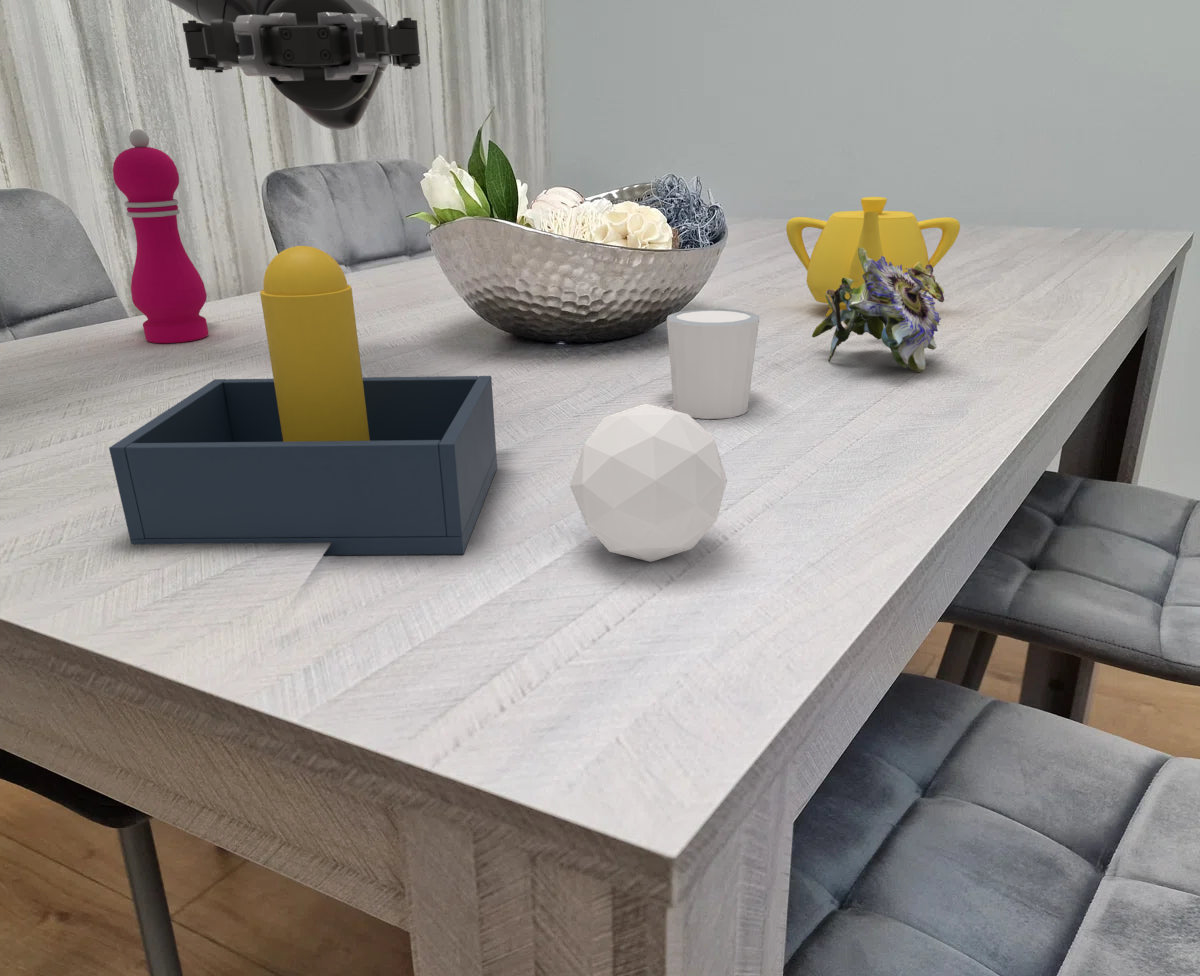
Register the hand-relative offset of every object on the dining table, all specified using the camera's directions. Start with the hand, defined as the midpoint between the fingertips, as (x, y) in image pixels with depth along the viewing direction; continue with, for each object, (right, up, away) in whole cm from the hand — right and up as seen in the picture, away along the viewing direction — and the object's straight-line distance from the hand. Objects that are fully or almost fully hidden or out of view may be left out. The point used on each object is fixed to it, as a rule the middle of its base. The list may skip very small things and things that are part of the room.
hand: (294, 39), depth 61 cm
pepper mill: (-27, -5, +49) cm, 56 cm away
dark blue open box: (+2, -27, +1) cm, 27 cm away
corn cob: (+2, -26, 0) cm, 26 cm away
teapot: (+47, -2, +53) cm, 70 cm away
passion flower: (+42, -12, +31) cm, 53 cm away
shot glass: (+26, -18, +19) cm, 37 cm away
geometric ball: (+20, -30, -6) cm, 37 cm away
